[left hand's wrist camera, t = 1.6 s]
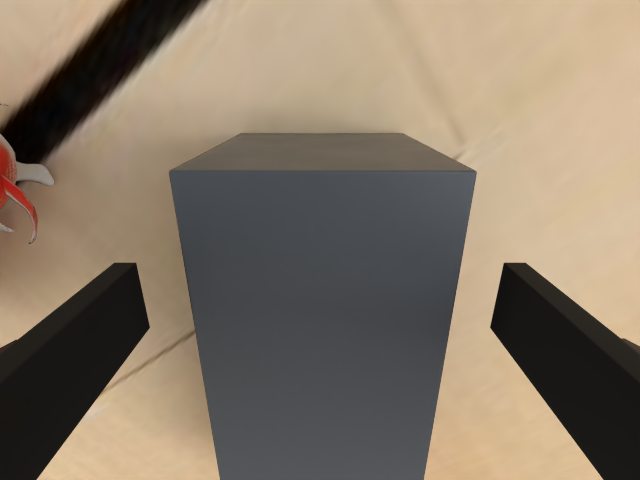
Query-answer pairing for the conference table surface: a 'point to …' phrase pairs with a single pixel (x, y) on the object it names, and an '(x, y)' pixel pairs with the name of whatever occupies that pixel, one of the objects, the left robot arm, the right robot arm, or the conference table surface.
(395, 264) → the box
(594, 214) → the conference table surface
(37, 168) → the fish
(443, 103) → the conference table surface
